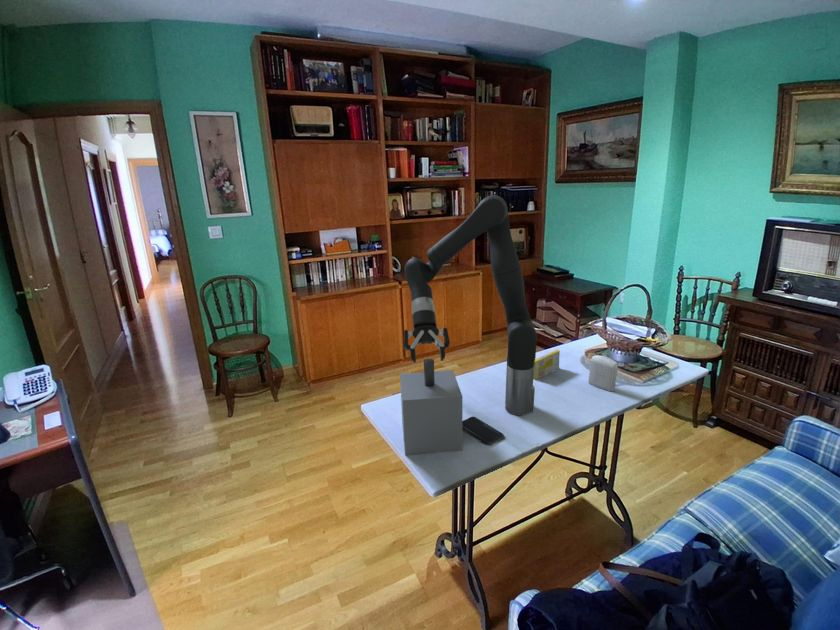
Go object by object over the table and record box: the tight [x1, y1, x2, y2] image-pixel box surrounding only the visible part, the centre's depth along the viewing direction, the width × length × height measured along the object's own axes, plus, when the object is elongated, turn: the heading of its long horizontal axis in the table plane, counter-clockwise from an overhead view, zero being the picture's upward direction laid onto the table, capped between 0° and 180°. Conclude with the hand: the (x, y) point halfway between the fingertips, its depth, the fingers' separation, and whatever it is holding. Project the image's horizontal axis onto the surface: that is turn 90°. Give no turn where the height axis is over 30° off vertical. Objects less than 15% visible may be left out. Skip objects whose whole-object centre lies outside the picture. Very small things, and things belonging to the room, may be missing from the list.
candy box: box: [533, 349, 561, 381], centre depth 181 cm, size 16×2×8 cm, turn 128°
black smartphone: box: [462, 416, 505, 446], centre depth 143 cm, size 8×1×15 cm
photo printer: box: [588, 354, 619, 392], centre depth 168 cm, size 10×4×12 cm, turn 38°
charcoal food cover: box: [399, 358, 463, 456], centre depth 137 cm, size 18×18×27 cm
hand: (428, 360), depth 134 cm, fingers open, 8 cm apart
